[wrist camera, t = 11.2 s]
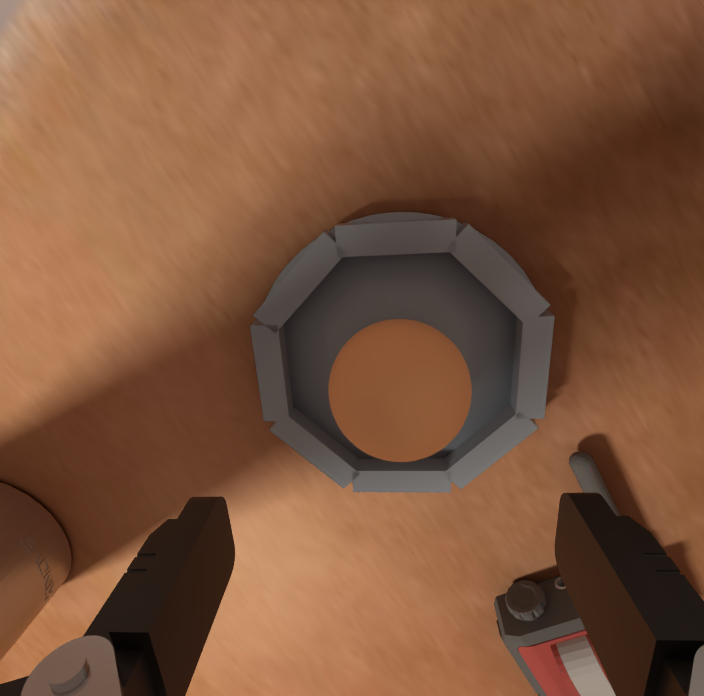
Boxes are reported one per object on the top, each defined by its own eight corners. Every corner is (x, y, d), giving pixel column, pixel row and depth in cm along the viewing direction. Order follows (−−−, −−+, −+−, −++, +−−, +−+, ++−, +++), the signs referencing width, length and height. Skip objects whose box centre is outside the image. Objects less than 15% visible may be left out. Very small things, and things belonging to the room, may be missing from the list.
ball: (341, 417, 21) (324, 493, 16) (333, 304, 19) (310, 350, 14) (459, 416, 21) (480, 494, 16) (462, 300, 19) (487, 346, 14)
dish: (276, 476, 24) (268, 496, 22) (240, 220, 19) (227, 223, 18) (532, 476, 22) (542, 498, 21) (559, 202, 18) (574, 204, 16)
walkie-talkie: (711, 687, 27) (588, 429, 22) (769, 779, 23) (635, 488, 18) (568, 723, 29) (424, 496, 24) (597, 812, 25) (432, 563, 20)
